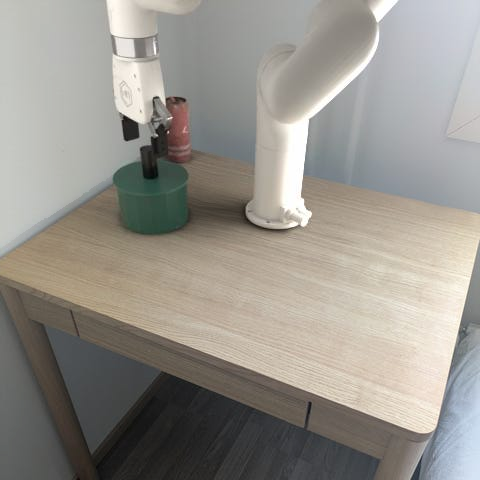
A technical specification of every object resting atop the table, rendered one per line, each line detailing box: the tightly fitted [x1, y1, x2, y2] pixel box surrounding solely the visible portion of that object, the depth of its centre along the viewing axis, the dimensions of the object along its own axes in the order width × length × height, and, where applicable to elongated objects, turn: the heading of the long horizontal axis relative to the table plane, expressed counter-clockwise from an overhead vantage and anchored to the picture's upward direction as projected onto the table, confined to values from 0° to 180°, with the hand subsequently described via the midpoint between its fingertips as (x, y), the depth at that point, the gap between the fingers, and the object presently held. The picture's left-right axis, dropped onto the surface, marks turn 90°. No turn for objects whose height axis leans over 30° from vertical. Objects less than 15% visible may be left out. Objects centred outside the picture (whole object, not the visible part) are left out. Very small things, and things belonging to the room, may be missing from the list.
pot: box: [115, 182, 190, 235], centre depth 99 cm, size 14×14×8 cm
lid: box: [112, 144, 190, 196], centre depth 94 cm, size 15×15×7 cm
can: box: [165, 96, 192, 164], centre depth 118 cm, size 6×6×14 cm
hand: (145, 147), depth 92 cm, fingers open, 9 cm apart
